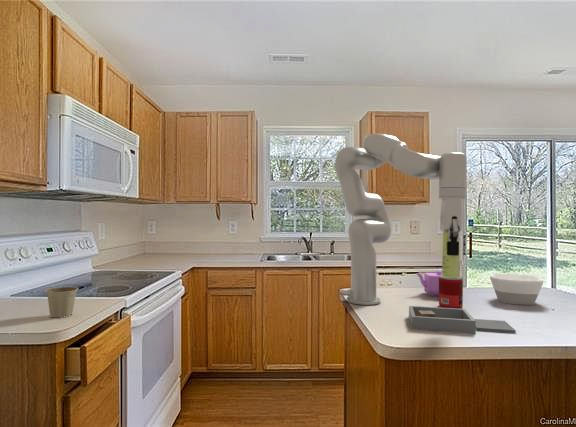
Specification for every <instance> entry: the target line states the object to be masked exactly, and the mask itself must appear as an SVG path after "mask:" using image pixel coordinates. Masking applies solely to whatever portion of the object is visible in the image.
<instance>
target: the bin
mask: <svg viewBox="0 0 576 427" xmlns="http://www.w3.org/2000/svg"><path fill="white" fill-rule="evenodd" d="M418 311H432V312H433V313H435V317H421V316H418ZM408 317H409V322H410V327H411V329H412V330H422V331H423V330H424V331H425V330H426V331H438V332H440V331H441V332H452V333H467V334H476V333H477V330H476V321H475V320H474V319H475V318H474V317H473V316H472V315H471V314H470V312H468V311H467V309H466V308H461V309H456V308H443V307H440V306H438V307H436V306H421V305H419V306H417V305H409V306H408Z"/></svg>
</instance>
